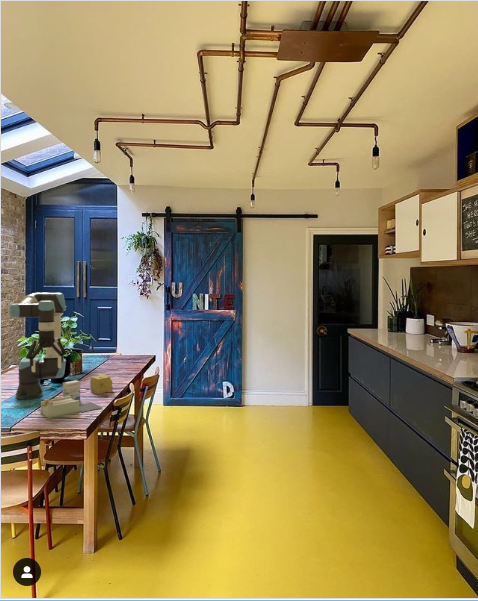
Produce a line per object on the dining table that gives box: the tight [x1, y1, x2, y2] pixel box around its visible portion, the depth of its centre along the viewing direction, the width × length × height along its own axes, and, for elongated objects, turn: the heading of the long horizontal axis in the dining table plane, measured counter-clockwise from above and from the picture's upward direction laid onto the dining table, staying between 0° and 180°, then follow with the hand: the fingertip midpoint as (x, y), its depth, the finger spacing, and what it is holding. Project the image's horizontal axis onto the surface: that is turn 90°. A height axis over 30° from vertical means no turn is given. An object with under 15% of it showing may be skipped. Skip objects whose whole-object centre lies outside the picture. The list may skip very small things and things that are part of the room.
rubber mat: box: [79, 401, 103, 413], centre depth 238 cm, size 14×12×1 cm
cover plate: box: [43, 398, 75, 408], centre depth 227 cm, size 9×15×4 cm, turn 135°
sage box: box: [40, 396, 80, 420], centre depth 227 cm, size 12×16×7 cm
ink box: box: [62, 380, 81, 401], centre depth 250 cm, size 9×5×12 cm, turn 141°
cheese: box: [89, 374, 114, 395], centre depth 272 cm, size 10×11×10 cm
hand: (46, 369), depth 220 cm, fingers open, 13 cm apart
